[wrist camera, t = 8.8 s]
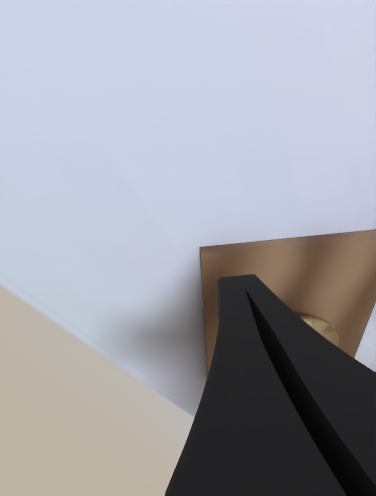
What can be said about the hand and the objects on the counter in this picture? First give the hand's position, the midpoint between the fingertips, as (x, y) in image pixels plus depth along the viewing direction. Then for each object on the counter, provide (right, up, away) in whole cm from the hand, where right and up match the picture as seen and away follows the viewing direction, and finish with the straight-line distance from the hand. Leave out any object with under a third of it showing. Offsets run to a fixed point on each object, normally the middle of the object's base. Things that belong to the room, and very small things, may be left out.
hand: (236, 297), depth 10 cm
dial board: (+7, -4, +14) cm, 16 cm away
